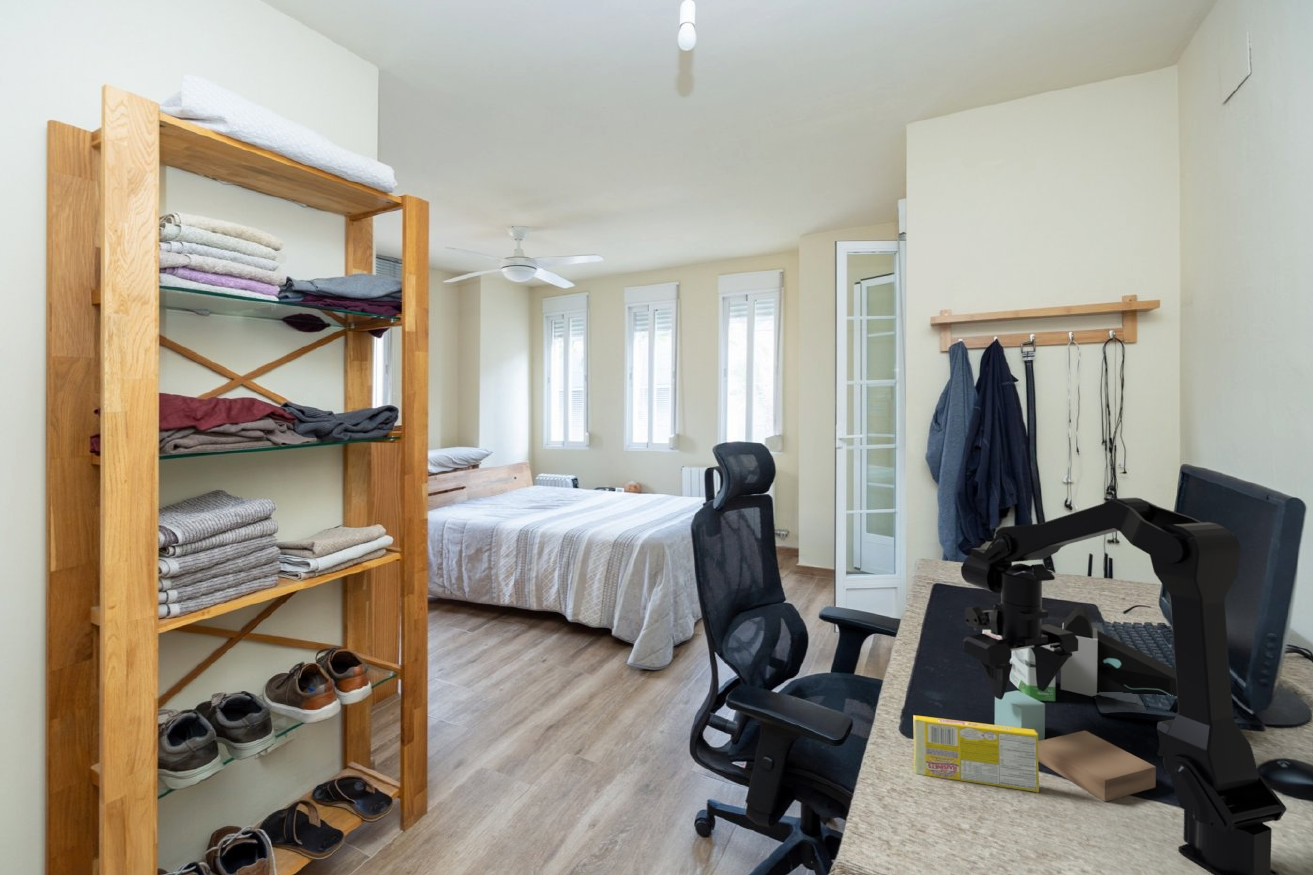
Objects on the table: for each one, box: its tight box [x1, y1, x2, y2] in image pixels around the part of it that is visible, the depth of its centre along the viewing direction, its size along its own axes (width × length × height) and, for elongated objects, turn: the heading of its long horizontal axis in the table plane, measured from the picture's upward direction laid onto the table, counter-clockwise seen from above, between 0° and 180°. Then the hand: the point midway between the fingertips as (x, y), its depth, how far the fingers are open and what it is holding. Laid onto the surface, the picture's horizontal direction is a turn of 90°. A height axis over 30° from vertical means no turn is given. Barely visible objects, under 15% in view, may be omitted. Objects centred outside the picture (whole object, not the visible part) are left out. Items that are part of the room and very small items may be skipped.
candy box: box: [912, 714, 1040, 793], centre depth 84 cm, size 16×2×8 cm, turn 73°
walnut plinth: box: [1038, 730, 1157, 803], centre depth 85 cm, size 10×10×3 cm
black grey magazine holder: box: [1060, 605, 1177, 697], centre depth 109 cm, size 8×18×15 cm, turn 53°
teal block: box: [994, 689, 1046, 741], centre depth 96 cm, size 5×5×6 cm
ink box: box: [1009, 648, 1056, 702], centre depth 111 cm, size 9×5×12 cm, turn 168°
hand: (1020, 694), depth 96 cm, fingers open, 9 cm apart
